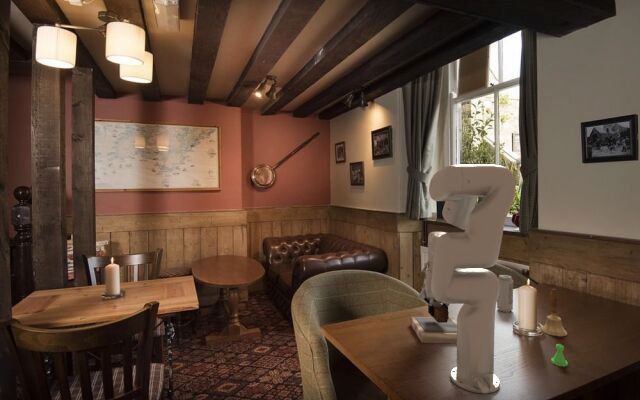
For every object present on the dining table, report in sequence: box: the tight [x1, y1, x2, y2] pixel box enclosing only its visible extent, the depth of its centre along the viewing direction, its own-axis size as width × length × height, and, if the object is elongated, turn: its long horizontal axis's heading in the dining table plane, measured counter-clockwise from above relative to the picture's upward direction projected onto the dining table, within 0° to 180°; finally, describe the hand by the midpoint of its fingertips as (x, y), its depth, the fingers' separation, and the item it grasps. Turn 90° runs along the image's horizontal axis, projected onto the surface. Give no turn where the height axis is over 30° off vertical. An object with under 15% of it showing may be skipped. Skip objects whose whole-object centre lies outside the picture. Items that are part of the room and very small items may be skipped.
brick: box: [433, 301, 450, 323], centre depth 132 cm, size 11×4×5 cm, turn 2°
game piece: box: [550, 343, 569, 368], centre depth 110 cm, size 4×4×6 cm
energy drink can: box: [496, 274, 514, 313], centre depth 154 cm, size 6×6×15 cm
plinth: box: [410, 316, 457, 344], centre depth 132 cm, size 16×16×3 cm
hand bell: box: [540, 288, 568, 337], centre depth 132 cm, size 8×8×16 cm
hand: (438, 314), depth 132 cm, fingers closed on brick, 4 cm apart
